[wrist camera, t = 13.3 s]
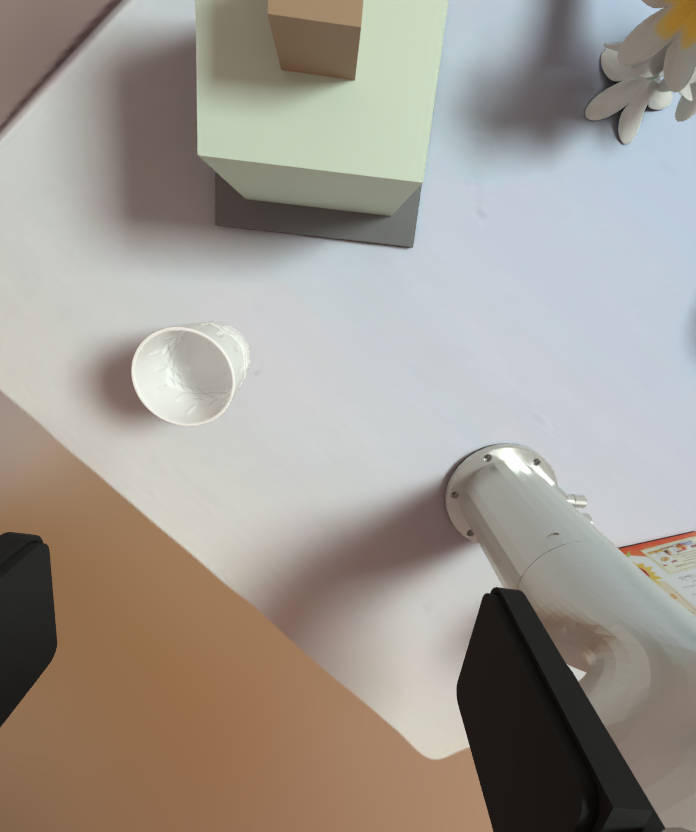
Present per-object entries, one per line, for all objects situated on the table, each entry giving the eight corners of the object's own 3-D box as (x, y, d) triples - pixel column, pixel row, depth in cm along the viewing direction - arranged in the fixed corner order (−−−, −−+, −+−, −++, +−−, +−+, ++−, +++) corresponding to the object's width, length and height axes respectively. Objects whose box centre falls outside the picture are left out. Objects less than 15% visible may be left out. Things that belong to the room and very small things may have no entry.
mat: (445, 6, 33) (447, 2, 32) (411, 247, 39) (412, 246, 38) (217, -29, 32) (215, -34, 31) (217, 225, 37) (215, 224, 37)
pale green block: (412, 38, 33) (506, -239, 15) (391, 216, 37) (445, 159, 19) (249, 15, 32) (147, -308, 14) (245, 199, 36) (163, 123, 19)
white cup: (161, 337, 41) (109, 356, 31) (230, 301, 40) (198, 308, 30) (205, 406, 43) (169, 442, 33) (271, 372, 42) (253, 400, 33)
